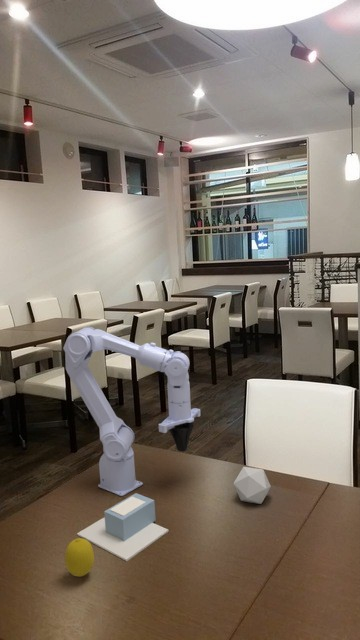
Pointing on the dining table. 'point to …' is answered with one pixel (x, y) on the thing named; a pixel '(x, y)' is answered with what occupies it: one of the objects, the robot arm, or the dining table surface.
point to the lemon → (79, 557)
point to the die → (252, 485)
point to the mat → (119, 547)
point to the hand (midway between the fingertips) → (181, 450)
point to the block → (129, 516)
